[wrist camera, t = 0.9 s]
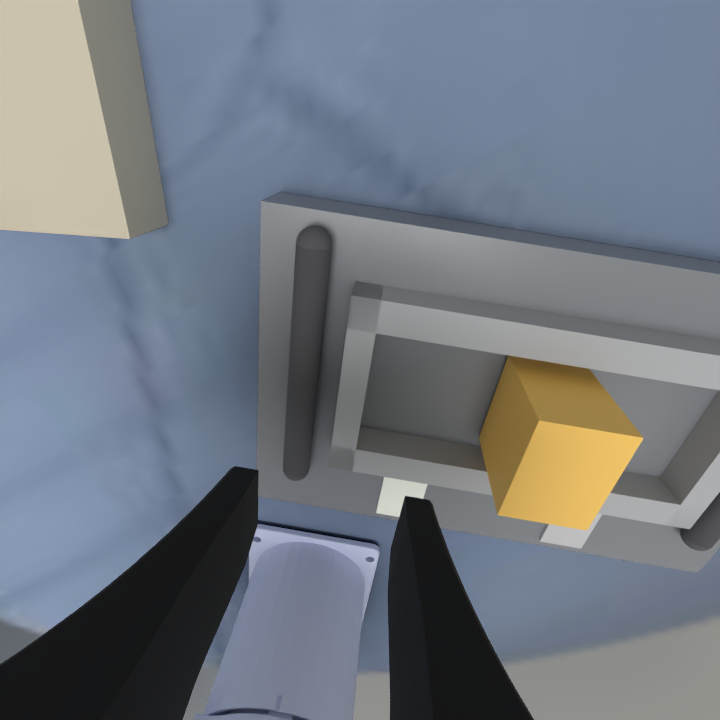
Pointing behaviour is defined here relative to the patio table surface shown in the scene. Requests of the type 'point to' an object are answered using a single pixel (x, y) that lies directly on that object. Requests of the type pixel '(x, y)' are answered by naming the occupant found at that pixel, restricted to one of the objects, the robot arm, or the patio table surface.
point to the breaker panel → (489, 369)
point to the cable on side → (305, 347)
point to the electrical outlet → (75, 121)
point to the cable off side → (704, 528)
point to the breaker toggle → (554, 443)
